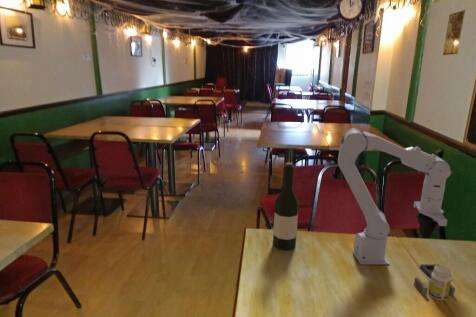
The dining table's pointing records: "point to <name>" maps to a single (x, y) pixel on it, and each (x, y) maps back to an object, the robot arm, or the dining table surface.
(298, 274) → the dining table surface
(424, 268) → the dark gray rectangular tray
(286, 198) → the wine bottle
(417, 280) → the channel
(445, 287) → the supplement bottle
